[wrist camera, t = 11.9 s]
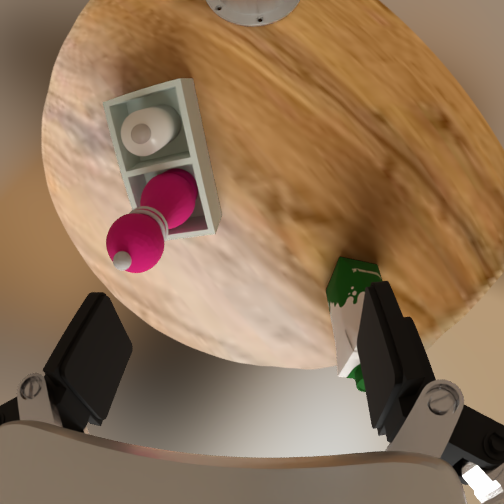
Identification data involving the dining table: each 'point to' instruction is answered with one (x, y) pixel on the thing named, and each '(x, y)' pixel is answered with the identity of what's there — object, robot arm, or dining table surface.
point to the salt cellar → (150, 129)
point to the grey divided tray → (169, 152)
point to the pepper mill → (152, 221)
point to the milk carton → (349, 312)
